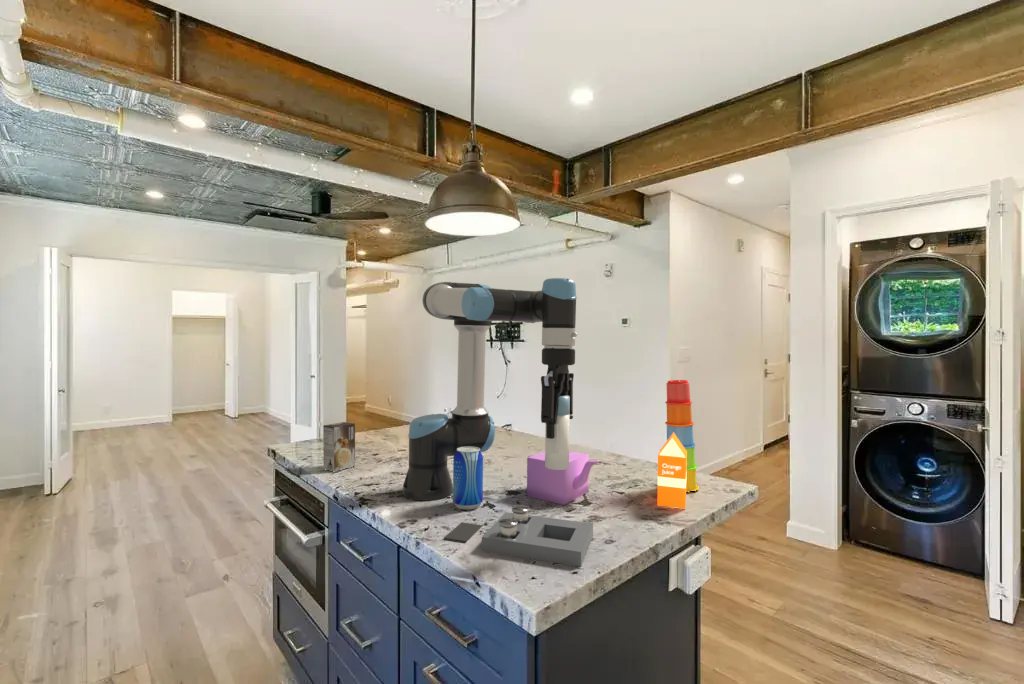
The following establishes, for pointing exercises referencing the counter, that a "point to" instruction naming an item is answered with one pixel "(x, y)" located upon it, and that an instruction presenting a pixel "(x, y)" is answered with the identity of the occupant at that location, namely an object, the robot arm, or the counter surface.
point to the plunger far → (520, 513)
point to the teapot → (558, 478)
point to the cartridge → (560, 437)
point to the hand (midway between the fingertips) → (557, 449)
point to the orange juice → (672, 474)
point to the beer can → (468, 478)
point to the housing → (542, 540)
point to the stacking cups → (682, 425)
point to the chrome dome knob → (508, 528)
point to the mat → (463, 532)
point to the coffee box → (339, 446)
